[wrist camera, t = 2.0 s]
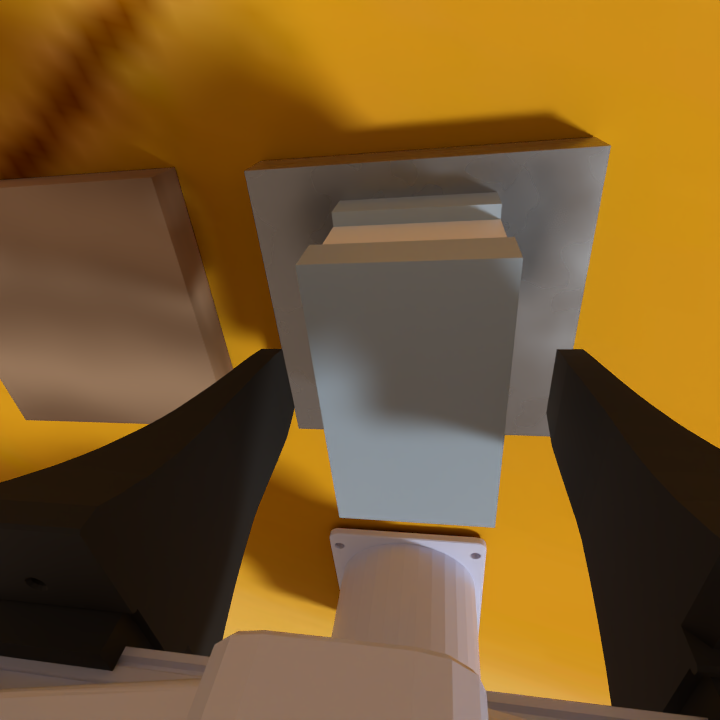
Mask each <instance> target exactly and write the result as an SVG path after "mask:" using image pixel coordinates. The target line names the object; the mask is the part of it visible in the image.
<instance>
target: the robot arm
mask: <svg viewBox="0 0 720 720" xmlns="http://www.w3.org/2000/svg"><path fill="white" fill-rule="evenodd" d="M294 408H295V406H294V401H293V396H292V392H291V387H290V383H289V378H288V373H287V369H286V364H285V359H284V355H283V350H282V349H261V350H259V351H258V352H256V353H255V354H253V355H252V356H250V357H249V358H247V359H246V360H245V361H243V362H242V363H241V364H239V365H238V366H237V367H235V368H234V369H233V370H231V371H230V372H229V373H227V374H226V375H225V376H223V377H222V378H220V379H219V380H218V381H216V382H215V383H214V384H212V385H211V386H210V387H208V388H207V389H205V390H204V391H202V392H201V393H199V394H198V395H196V396H195V397H193V398H192V399H190V400H189V401H187V402H186V403H184V404H183V405H181V406H180V407H178V408H177V409H175V410H173V411H172V412H170V413H168V414H167V415H165V416H163V417H162V418H160V419H158V420H156V421H154V422H153V423H151V424H149V425H147V426H145V427H143V428H141V429H139V430H137V431H135V432H133V433H131V434H129V435H127V436H125V437H123V438H120V439H118V440H116V441H114V442H112V443H110V444H108V445H106V446H103V447H101V448H99V449H96V450H94V451H91V452H89V453H86V454H84V455H82V456H79V457H76V458H74V459H71V460H68V461H66V462H63V463H60V464H57V465H55V466H52V467H49V468H46V469H43V470H39V471H36V472H33V473H30V474H27V475H24V476H21V477H17V478H14V479H11V480H8V481H4V482H1V483H0V720H720V449H719V448H717V447H715V446H714V445H712V444H710V443H709V442H707V441H705V440H704V439H702V438H700V437H699V436H697V435H696V434H694V433H692V432H691V431H689V430H687V429H686V428H684V427H683V426H681V425H680V424H678V423H677V422H675V421H674V420H672V419H671V418H669V417H668V416H667V415H665V414H664V413H662V412H661V411H659V410H658V409H657V408H655V407H654V406H652V405H651V404H650V403H648V402H647V401H646V400H644V399H643V398H642V397H640V396H639V395H638V394H637V393H635V392H634V391H633V390H632V389H630V388H629V387H628V386H627V385H625V384H624V383H623V382H622V381H620V380H619V379H618V378H617V377H616V376H614V375H613V374H612V373H611V372H610V371H608V370H607V369H606V368H605V367H604V366H603V365H601V364H600V363H599V362H598V361H597V360H595V359H594V358H593V357H592V356H591V355H589V354H588V353H587V352H586V351H584V350H583V349H557V351H556V357H555V363H554V369H553V375H552V381H551V387H550V393H549V399H548V405H547V411H546V414H547V420H548V426H549V432H550V438H551V443H552V448H553V451H554V454H555V457H556V460H557V463H558V467H559V470H560V473H561V476H562V479H563V482H564V485H565V488H566V491H567V494H568V497H569V500H570V503H571V506H572V509H573V512H574V515H575V518H576V521H577V525H578V528H579V532H580V535H581V539H582V543H583V548H584V553H585V558H586V562H587V567H588V572H589V577H590V582H591V587H592V592H593V597H594V603H595V608H596V613H597V618H598V624H599V630H600V636H601V642H602V648H603V653H604V659H605V665H606V671H607V678H608V685H609V691H610V698H611V705H612V706H606V705H598V704H590V703H581V702H573V701H565V700H557V699H549V698H541V697H533V696H525V695H516V694H508V693H500V692H492V691H485V688H484V686H483V684H482V682H481V678H480V662H479V645H478V633H479V623H480V612H481V601H482V591H483V580H484V569H485V558H486V543H485V541H484V540H483V539H481V538H477V537H464V536H449V535H435V534H420V533H405V532H391V531H376V530H361V529H347V528H335V529H333V530H332V531H331V533H330V543H331V548H332V553H333V558H334V563H335V568H336V573H337V578H338V583H339V588H340V595H339V600H338V605H337V610H336V616H335V621H334V626H333V632H332V637H322V636H312V635H303V634H294V633H285V632H276V631H267V630H259V631H238V632H236V633H234V634H232V635H230V636H228V637H227V638H225V639H223V635H224V630H225V625H226V621H227V617H228V613H229V609H230V605H231V600H232V596H233V592H234V588H235V584H236V580H237V576H238V573H239V569H240V565H241V562H242V558H243V554H244V550H245V547H246V544H247V540H248V537H249V534H250V530H251V527H252V523H253V520H254V517H255V514H256V512H257V509H258V506H259V503H260V501H261V499H262V496H263V494H264V491H265V489H266V487H267V484H268V482H269V480H270V477H271V475H272V472H273V470H274V468H275V465H276V463H277V461H278V458H279V456H280V453H281V451H282V448H283V446H284V443H285V441H286V438H287V435H288V432H289V428H290V424H291V420H292V416H293V412H294ZM222 639H223V640H222Z"/></svg>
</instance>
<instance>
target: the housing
mask: <svg viewBox="0 0 720 720" xmlns="http://www.w3.org/2000/svg"><path fill="white" fill-rule="evenodd" d="M501 208H502V203H501V200H500V198H499V195H498V193H497V192H488V193H470V194H452V195H434V196H416V197H398V198H380V199H362V200H344V201H339V202H338V204H337V205H336V207H335V208H334V209H333V211H332V220H333V228H332V230H331V231H330V233H329V235H328V236H327V238H326V239H325V241H324V243H323V244H321V245H309V246H308V247H307V249H306V250H305V252H304V253H303V255H302V256H301V258H300V259H299V260H298V262H297V263H296V271H297V277H298V282H299V288H300V294H301V300H302V305H303V311H304V317H305V323H306V328H307V334H308V340H309V346H310V351H311V357H312V363H313V368H314V374H315V380H316V386H317V391H318V397H319V403H320V409H321V414H322V420H323V426H324V432H325V437H326V443H327V449H328V454H329V460H330V466H331V472H332V477H333V483H334V489H335V495H336V500H337V506H338V512H339V518H354V519H370V520H385V521H401V522H416V523H432V524H447V525H463V526H479V527H494V528H495V521H496V511H497V502H498V492H499V483H500V473H501V464H502V454H503V445H504V435H505V426H506V416H507V406H508V397H509V387H510V378H511V368H512V359H513V349H514V340H515V330H516V321H517V311H518V302H519V292H520V283H521V273H522V264H523V256H522V254H521V251H520V249H519V246H518V243H517V241H516V238H515V237H507V236H506V233H505V230H504V227H503V224H502V222H501Z"/></svg>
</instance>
